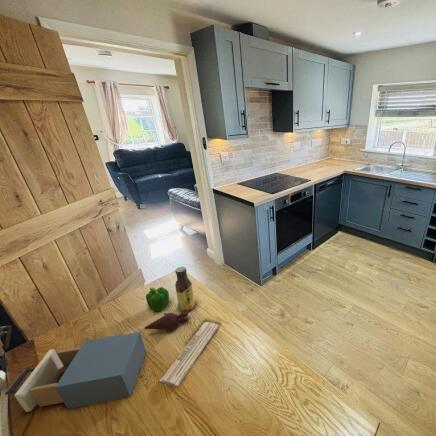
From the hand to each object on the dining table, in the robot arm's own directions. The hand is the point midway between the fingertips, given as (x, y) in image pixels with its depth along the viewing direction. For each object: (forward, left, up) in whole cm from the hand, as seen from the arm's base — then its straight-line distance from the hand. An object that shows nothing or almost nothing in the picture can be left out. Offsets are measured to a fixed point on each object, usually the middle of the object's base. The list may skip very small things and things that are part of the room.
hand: (1, 368), depth 65 cm
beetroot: (+39, +11, -13) cm, 42 cm away
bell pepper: (+35, +25, -13) cm, 45 cm away
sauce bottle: (+46, +20, -13) cm, 51 cm away
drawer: (+10, -1, -11) cm, 15 cm away
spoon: (+10, -1, -10) cm, 14 cm away
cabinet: (+23, -3, -12) cm, 26 cm away
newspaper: (+47, -3, -13) cm, 49 cm away
